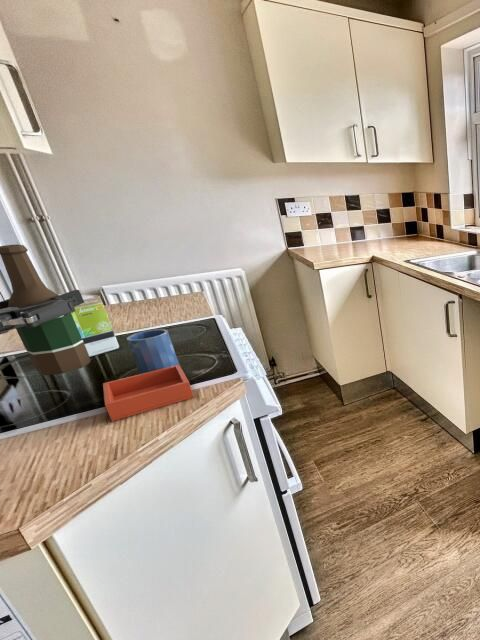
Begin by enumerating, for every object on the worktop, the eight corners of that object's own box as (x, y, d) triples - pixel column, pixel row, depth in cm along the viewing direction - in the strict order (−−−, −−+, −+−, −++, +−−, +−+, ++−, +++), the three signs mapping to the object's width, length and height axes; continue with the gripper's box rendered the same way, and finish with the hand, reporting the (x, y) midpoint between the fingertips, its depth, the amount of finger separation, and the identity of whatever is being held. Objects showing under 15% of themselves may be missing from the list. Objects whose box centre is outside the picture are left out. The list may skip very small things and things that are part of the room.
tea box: (122, 348, 113) (101, 294, 108) (73, 362, 105) (48, 305, 99) (93, 341, 119) (72, 290, 114) (45, 353, 111) (20, 299, 105)
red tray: (109, 398, 86) (102, 383, 85) (184, 378, 94) (179, 364, 93) (112, 421, 78) (104, 404, 76) (194, 397, 86) (188, 381, 84)
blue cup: (141, 375, 96) (125, 335, 92) (178, 366, 100) (165, 327, 97) (144, 385, 91) (127, 342, 88) (183, 375, 96) (169, 334, 92)
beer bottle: (40, 367, 84) (-18, 245, 75) (93, 356, 89) (44, 241, 80) (33, 380, 79) (-30, 250, 70) (90, 367, 83) (37, 245, 74)
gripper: (-129, 368, 62) (2, 321, 83) (37, 352, 66) (122, 311, 87) (-160, 320, 59) (-17, 283, 80) (15, 306, 64) (108, 275, 84)
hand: (55, 298), depth 83 cm, fingers closed on beer bottle, 7 cm apart
